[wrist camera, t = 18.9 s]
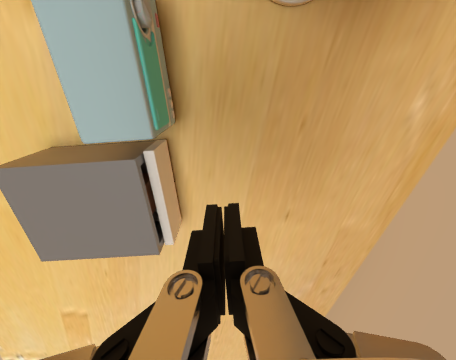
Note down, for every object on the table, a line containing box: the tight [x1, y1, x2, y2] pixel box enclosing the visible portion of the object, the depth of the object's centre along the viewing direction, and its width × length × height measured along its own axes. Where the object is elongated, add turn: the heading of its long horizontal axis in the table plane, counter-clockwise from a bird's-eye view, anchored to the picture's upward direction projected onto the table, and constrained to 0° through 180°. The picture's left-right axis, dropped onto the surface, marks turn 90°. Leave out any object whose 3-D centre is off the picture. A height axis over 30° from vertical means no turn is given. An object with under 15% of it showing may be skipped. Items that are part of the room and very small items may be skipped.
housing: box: [0, 140, 165, 261], centre depth 33 cm, size 18×15×10 cm
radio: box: [31, 0, 175, 144], centre depth 21 cm, size 16×9×20 cm, turn 4°
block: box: [142, 173, 156, 215], centre depth 34 cm, size 5×5×5 cm
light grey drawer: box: [140, 139, 182, 245], centre depth 34 cm, size 17×16×6 cm
